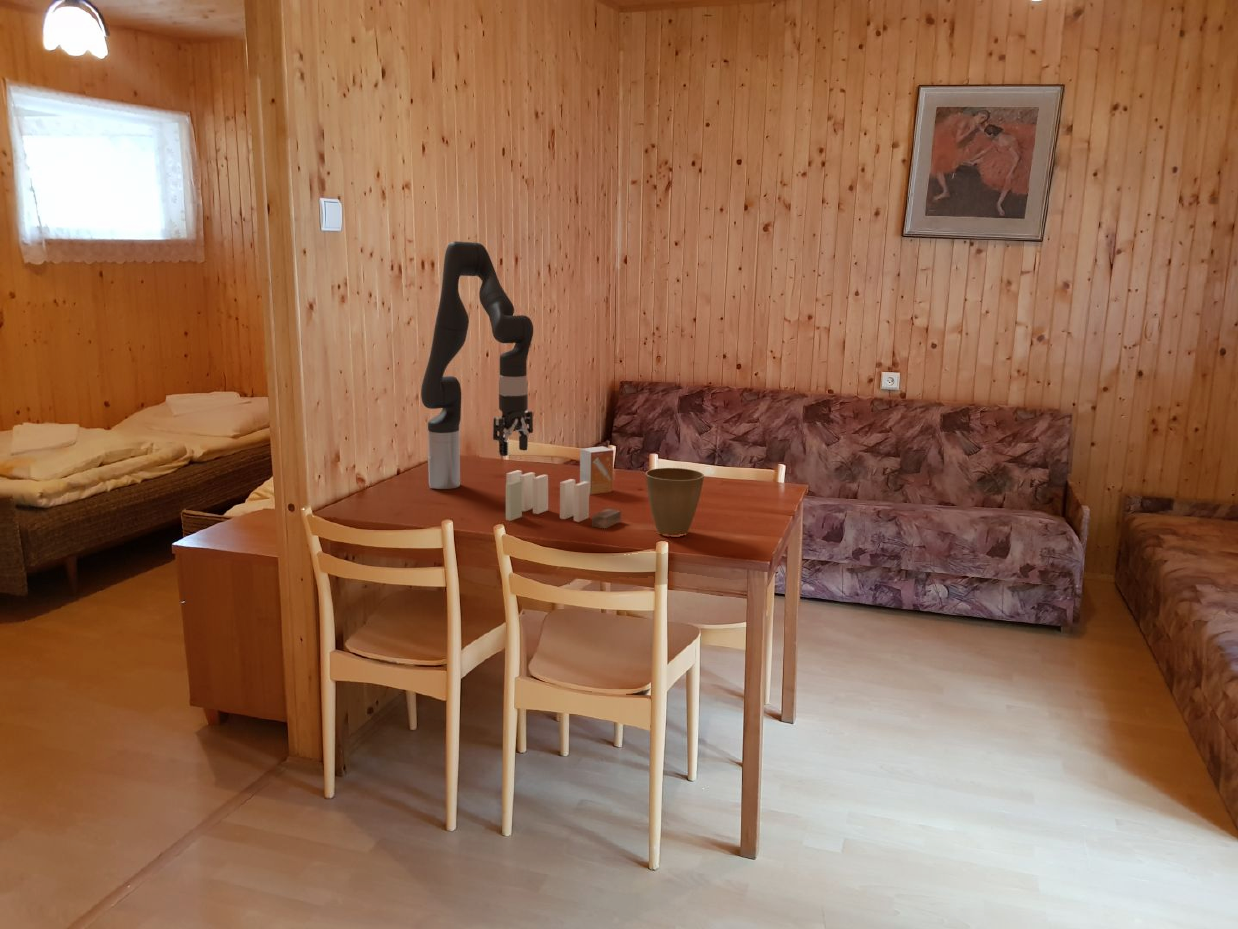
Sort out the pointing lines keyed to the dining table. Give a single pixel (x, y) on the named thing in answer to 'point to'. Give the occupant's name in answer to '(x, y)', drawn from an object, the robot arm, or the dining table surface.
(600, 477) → the small box
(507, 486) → the domino
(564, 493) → the domino
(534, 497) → the domino
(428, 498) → the dining table surface
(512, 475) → the domino
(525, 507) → the domino
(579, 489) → the domino
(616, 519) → the stop block
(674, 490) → the plant pot
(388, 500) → the dining table surface
